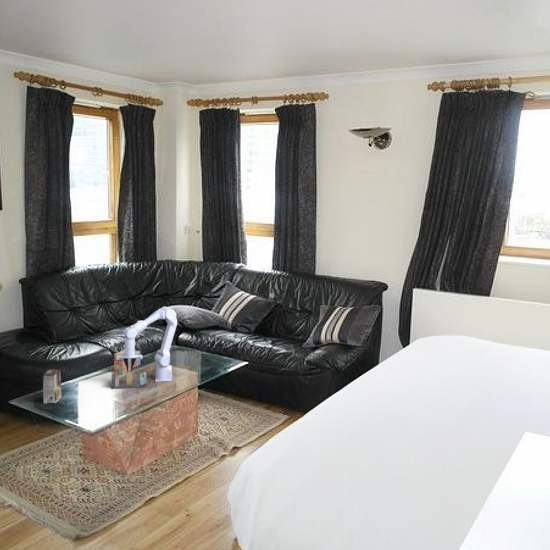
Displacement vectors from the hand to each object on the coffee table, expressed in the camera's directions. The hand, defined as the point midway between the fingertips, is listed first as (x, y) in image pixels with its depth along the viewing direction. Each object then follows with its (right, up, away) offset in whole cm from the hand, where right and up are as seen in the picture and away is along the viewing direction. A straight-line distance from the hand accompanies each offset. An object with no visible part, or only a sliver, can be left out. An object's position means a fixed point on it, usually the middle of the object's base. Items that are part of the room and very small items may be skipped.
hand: (129, 370), depth 345 cm
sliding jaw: (+7, -7, +3) cm, 11 cm away
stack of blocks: (-9, -4, +30) cm, 32 cm away
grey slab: (0, -8, +1) cm, 8 cm away
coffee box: (-34, -12, -28) cm, 46 cm away
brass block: (0, -7, +1) cm, 7 cm away
